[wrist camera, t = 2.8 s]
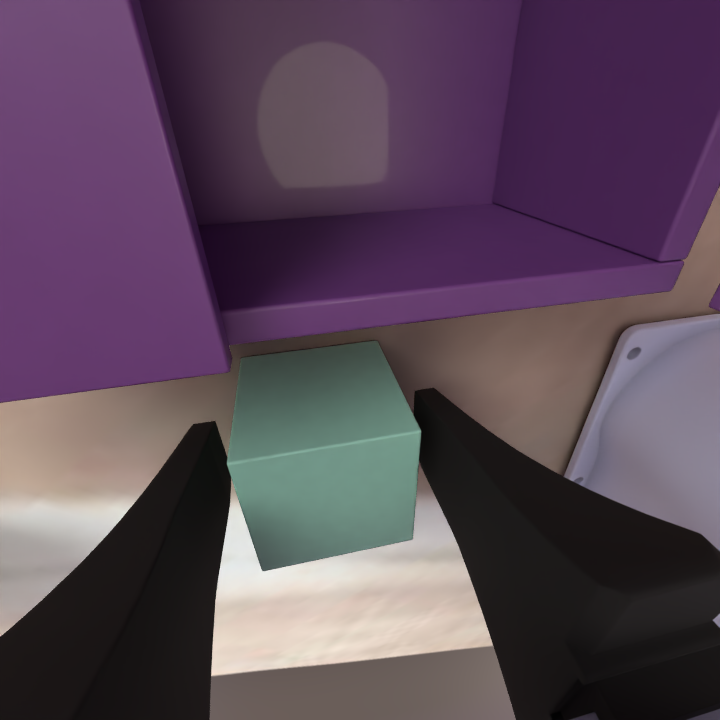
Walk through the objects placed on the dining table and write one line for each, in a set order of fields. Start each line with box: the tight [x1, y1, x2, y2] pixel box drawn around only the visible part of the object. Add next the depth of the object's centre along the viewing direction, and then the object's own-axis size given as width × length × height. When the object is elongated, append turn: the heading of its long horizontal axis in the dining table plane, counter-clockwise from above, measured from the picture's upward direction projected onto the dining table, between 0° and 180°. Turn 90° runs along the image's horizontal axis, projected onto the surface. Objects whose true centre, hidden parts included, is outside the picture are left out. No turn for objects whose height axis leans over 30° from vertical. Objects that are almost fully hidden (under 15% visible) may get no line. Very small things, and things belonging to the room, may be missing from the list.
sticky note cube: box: [227, 341, 421, 571], centre depth 11 cm, size 4×4×4 cm
